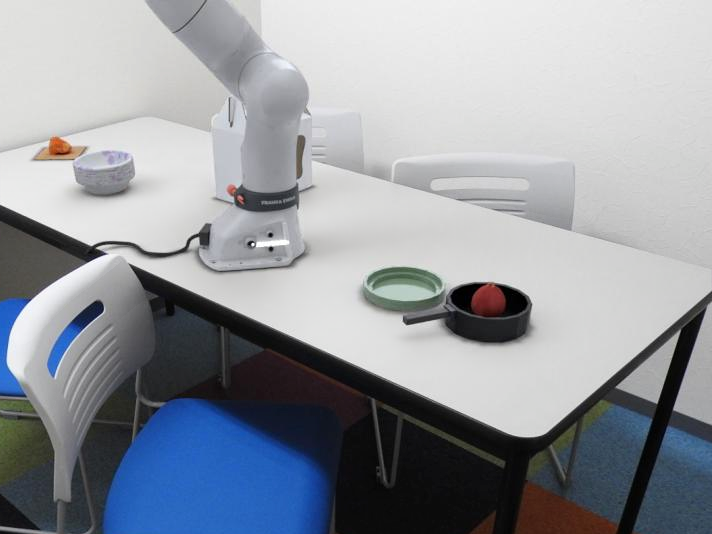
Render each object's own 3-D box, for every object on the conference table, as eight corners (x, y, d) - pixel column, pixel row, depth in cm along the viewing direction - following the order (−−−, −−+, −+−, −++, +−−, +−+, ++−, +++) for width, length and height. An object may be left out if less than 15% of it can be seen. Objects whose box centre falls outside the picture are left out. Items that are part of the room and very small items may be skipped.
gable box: (253, 210, 186) (248, 87, 170) (215, 198, 193) (206, 79, 177) (312, 186, 199) (313, 69, 183) (274, 176, 207) (271, 63, 191)
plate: (384, 319, 139) (385, 306, 138) (350, 284, 151) (351, 273, 150) (459, 304, 143) (460, 292, 142) (420, 272, 155) (421, 260, 154)
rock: (76, 159, 222) (73, 144, 220) (34, 160, 223) (31, 145, 220) (86, 147, 232) (83, 132, 230) (45, 147, 232) (42, 133, 230)
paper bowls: (65, 195, 197) (59, 164, 193) (98, 177, 209) (94, 147, 204) (116, 202, 192) (112, 170, 188) (147, 183, 204) (144, 152, 199)
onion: (465, 315, 140) (470, 274, 135) (496, 313, 140) (502, 272, 136) (474, 330, 135) (480, 289, 130) (506, 329, 135) (513, 287, 131)
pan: (498, 298, 145) (501, 276, 143) (544, 333, 134) (548, 310, 131) (385, 320, 139) (386, 297, 136) (423, 359, 128) (425, 335, 125)
